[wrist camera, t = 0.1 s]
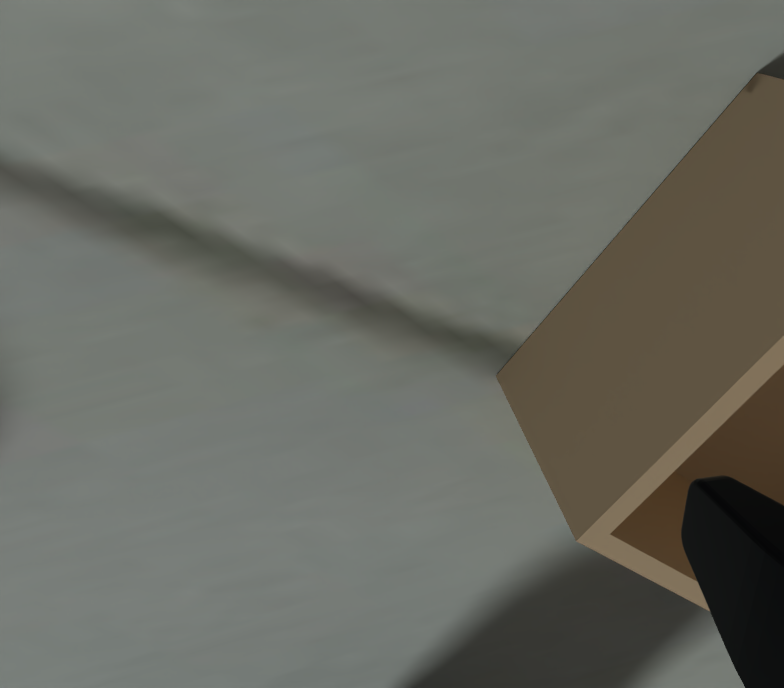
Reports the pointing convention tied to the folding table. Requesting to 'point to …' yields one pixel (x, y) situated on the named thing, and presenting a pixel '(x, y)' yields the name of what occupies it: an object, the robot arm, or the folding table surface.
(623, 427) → the carton
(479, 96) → the folding table surface
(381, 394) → the folding table surface
